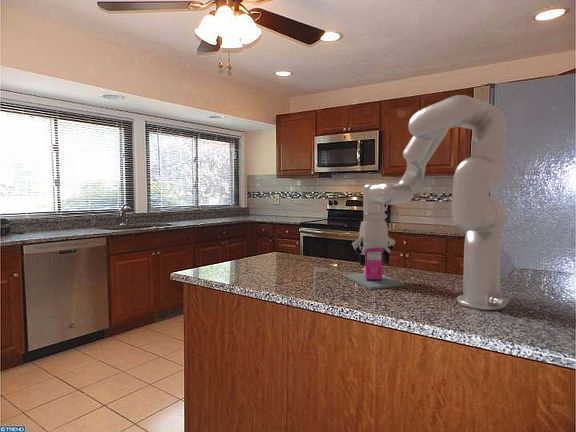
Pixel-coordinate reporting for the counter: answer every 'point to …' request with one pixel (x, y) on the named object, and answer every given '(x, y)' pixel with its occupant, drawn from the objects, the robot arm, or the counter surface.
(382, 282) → the rubber mat
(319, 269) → the counter surface
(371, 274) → the supplement box
